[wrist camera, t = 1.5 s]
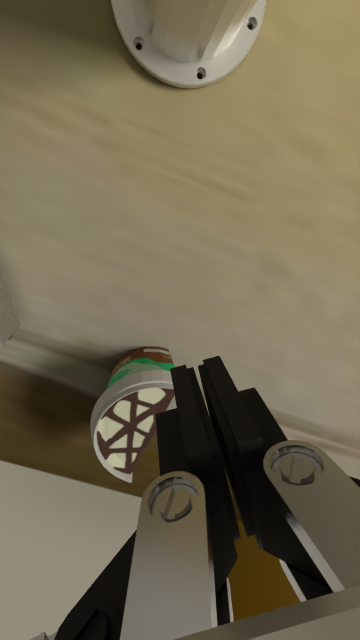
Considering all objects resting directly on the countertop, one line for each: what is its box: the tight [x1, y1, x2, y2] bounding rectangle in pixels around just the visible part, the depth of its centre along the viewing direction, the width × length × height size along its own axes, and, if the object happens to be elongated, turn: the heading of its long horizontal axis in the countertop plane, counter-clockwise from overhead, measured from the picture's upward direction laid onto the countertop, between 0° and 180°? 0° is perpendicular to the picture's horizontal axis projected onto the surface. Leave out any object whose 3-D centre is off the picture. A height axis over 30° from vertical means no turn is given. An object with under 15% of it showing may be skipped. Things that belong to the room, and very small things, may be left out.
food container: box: [90, 346, 175, 483], centre depth 34 cm, size 12×6×10 cm, turn 154°
